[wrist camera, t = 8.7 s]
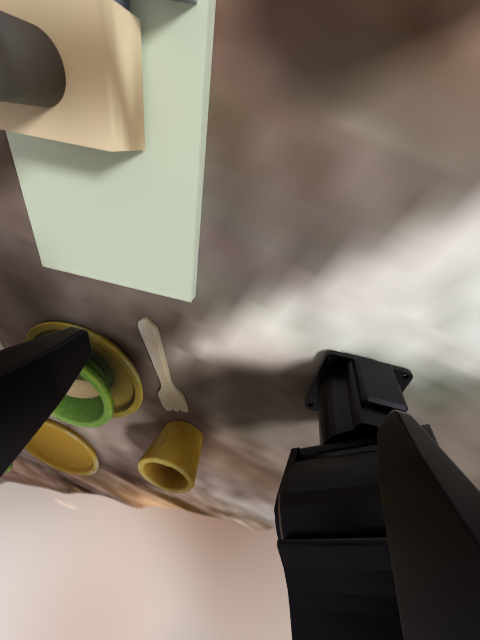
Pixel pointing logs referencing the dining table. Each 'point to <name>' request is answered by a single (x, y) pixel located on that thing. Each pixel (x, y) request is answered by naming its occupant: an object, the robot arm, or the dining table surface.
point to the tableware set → (117, 413)
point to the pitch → (133, 169)
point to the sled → (72, 72)
